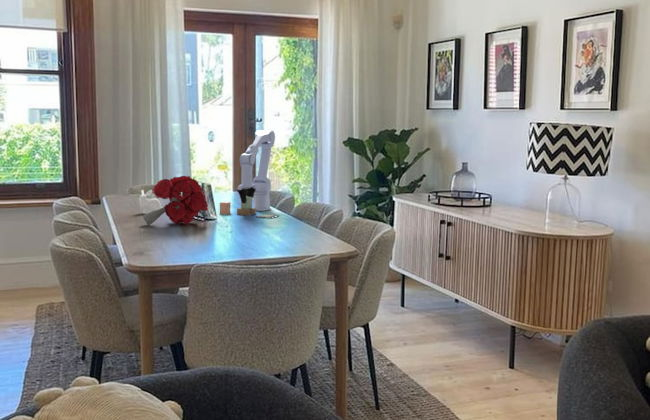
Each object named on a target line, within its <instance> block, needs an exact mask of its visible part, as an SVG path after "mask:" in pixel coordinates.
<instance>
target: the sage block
mask: <svg viewBox="0 0 650 420" xmlns="http://www.w3.org/2000/svg"><path fill="white" fill-rule="evenodd" d="M240 208H244V209H251V208H253V198H252V197H248V196H247V197H246V203H242V202H241V201H240Z"/></svg>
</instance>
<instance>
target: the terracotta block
mask: <svg viewBox="0 0 650 420" xmlns="http://www.w3.org/2000/svg"><path fill="white" fill-rule="evenodd" d="M231 204H232V203H231V202H229V201H221V202H219V214H221V215H230V214H231Z"/></svg>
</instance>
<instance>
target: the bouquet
mask: <svg viewBox="0 0 650 420" xmlns="http://www.w3.org/2000/svg"><path fill="white" fill-rule="evenodd" d="M152 192H153V194H154V196H155V198H156V199H157V198H158V199H162V200H169V202H168V203H167V204H165V205H164V206H162V207H163V208H161V209H159V210H156V211H152V212H149V213H147V214H144V215H142V218H143V220H144V221H145V223H146V225H148V226H150V225H152V224H154V222H156V221H157V220H158V219H159V218H160V217H161V216H162V215H164V213H165V216H167V217H168V219H169V221H170V222H171V223H174V224H182V223H183V224H184V225H185V226H188V225H190V223H191V222H193V220H194V218H195V216H197V215H198V214H199V213H200V212H201V211H204V212H208V211H209V209H208V207H209V206H208V205H209V204H208V202H207V199H206V198H207V197H206V195H205V193H204V190H203V188H202V187H201V185H200V183H199V182H198V181H197V180H196V179H194V178H192V177H191V176H189V175H188V176H186V175H181V176H174V177H172V178H170V179H167V178H163V179H161V180H159V181H158V182H157V183H156V184H155V185H154V186H153V189H152Z"/></svg>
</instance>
